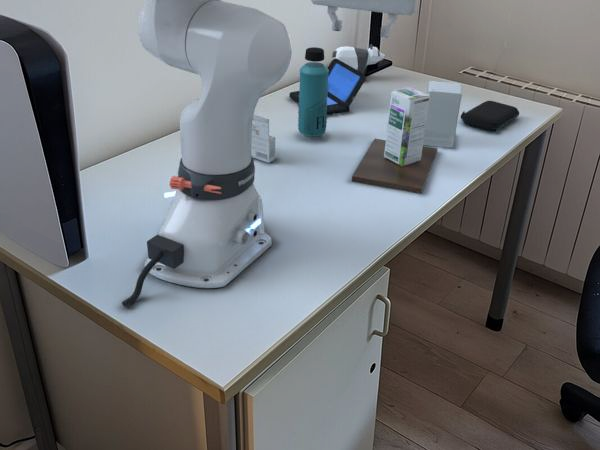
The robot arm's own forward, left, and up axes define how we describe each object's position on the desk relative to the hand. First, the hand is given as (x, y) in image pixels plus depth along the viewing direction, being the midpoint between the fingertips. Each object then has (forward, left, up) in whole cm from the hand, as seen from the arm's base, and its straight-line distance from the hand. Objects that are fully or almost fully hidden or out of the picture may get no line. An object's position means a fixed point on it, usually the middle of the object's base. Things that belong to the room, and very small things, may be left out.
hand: (360, 33), depth 129 cm
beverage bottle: (+9, +11, -27) cm, 30 cm away
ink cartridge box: (-5, +20, -27) cm, 34 cm away
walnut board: (+1, -10, -27) cm, 28 cm away
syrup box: (+2, -11, -26) cm, 28 cm away
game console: (+30, +14, -27) cm, 42 cm away
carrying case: (+34, -25, -27) cm, 50 cm away
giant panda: (+52, +12, -27) cm, 59 cm away
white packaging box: (+18, -16, -27) cm, 36 cm away
